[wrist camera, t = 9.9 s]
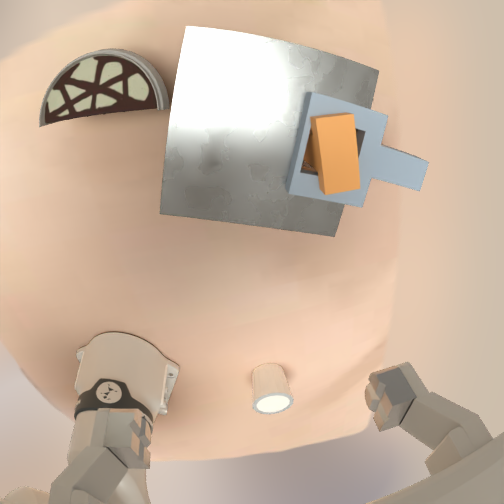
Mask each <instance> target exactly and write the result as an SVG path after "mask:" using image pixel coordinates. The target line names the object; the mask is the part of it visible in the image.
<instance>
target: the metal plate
mask: <svg viewBox="0 0 504 504" xmlns="http://www.w3.org/2000/svg"><path fill="white" fill-rule="evenodd" d="M378 74H379V70H376V69H373V68H371V67H368V66H365V65H363V64H360V63H357V62H354V61H352V60H349V59H346V58H343V57H340V56H337V55H333V54H330V53H327V52H324V51H320V50H317V49H313V48H310V47H306V46H302V45H298V44H294V43H290V42H286V41H282V40H277V39H273V38H268V37H263V36H258V35H253V34H247V33H241V32H235V31H228V30H221V29H213V28H204V27H193V26H186V31H185V35H184V40H183V45H182V50H181V55H180V60H179V65H178V71H177V76H176V82H175V88H174V94H173V100H172V107H171V114H170V121H169V128H168V135H167V143H166V152H165V161H164V170H163V180H162V192H161V204H160V214H164V215H173V216H181V217H190V218H198V219H206V220H214V221H222V222H230V223H238V224H246V225H253V226H261V227H268V228H276V229H283V230H290V231H297V232H304V233H311V234H318V235H325V236H332V237H335V234H336V230H337V227H338V224H339V221H340V218H341V215H342V211H343V208H344V205H345V204H342V203H337V202H331V201H326V200H321V199H315V198H310V197H304V196H298V195H292V194H288V192H287V191H286V189H285V186H286V182H287V177H288V173H289V169H290V164H291V160H292V156H293V151H294V147H295V143H296V138H297V134H298V129H299V125H300V120H301V116H302V111H303V107H304V103H305V98H306V93H307V92H314V93H318V94H322V95H325V96H329V97H332V98H336V99H339V100H343V101H346V102H349V103H352V104H355V105H359V106H362V107H365V108H368V109H371V105H372V101H373V96H374V92H375V88H376V83H377V78H378ZM355 130H356V135H357V131H358V129H356V128H355ZM303 161H304V159H303ZM302 165H303V162H302ZM301 169H304V170H309V171H314V172H317V171H316V170H315V169H314V168H310V167H305V166H301Z"/></svg>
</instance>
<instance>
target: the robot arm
mask: <svg viewBox="0 0 504 504" xmlns="http://www.w3.org/2000/svg"><path fill="white" fill-rule="evenodd" d="M76 357H77V359H78V361H79V362H80V366H79V370H78V374H77V378H76V382H75V390H76V391H77V393H78V395H79V399H78V402H77V404H76V407H75V415H74V417H75V420H76V421H75V425H74V429H73V433H72V437H71V441H70V445H69V450H68V454H67V459H68V466H67V467H66V469H65V470H64V471H63V472H62V473H61V474H60V475H59V476H58V477H57V478H56V479H55V480H54V482H53V483H52V484H51V490H50V493H48V492H44V491H41V490H37V489H34V488H30V487H27V486H23V487H19V488H17V489H15V490H13V491H11V492H10V493H9V494H7V496H6V497H5V498H4V499H2V498H0V504H151V502H150V499H149V496H148V491H147V485H146V469H150V452H149V451H148V450H147V447H148V446H149V445H150V444H151V434H152V431H153V423H154V422H155V419H156V417H157V414H158V413H159V414H161V415H166V414H167V409H168V404H167V403H168V400H169V398H170V395H171V392H172V389H173V387H174V384H175V381H176V379H177V376H178V373H179V369H180V368H179V366H178V365H177V364H176V363H174V362H172V361H170V360H168V359H166V358H165V357H164V356H163V355H162V354H161V353H160V352H159V351H158V350H157V349H156V348H155V347H154V346H153V345H151V344H150V343H148V342H146V341H145V340H143V339H140V338H138V337H136V336H133V335H129V334H125V333H117V332H111V333H104V334H100V335H98V336H96V337H94V338H93V339H92V340H91V341H90V343H89V344H88V345H87V346H85V347H82V348H79V349H78V350H77V353H76ZM369 381H370V383H369V384H368V385H367V386H366V389H365V400H366V403H367V406H368V408H369V409H370V410H371V411H373V412H375V414H374V417H373V419H374V421H375V423H376V425H377V427H378V429H379V431H380V432H381V431H384V430H387V429H390V428H393V427H396V426H399V425H400V427H401V428H402V429H404V430H405V431H406V432H408V433H410V434H411V435H413V436H414V437H415V438H416V439H418V440H419V441H421V442H422V443H424V444H425V445H427V446H428V447H429V448H431V449H432V450H434V451H433V452H432V453H431V454H430V455H429V457H427V459H426V461H425V464H426V466H427V468H428V470H429V472H430V474H431V476H430V477H428V478H426V479H424V480H422V481H420V482H418V483H415V484H413V485H411V486H409V487H407V488H404V489H402V490H400V491H398V492H395V493H392V494H390V495H387V496H385V497H382V498H380V499H377V500H374V501H371V502H369V503H366V504H504V432H503V433H501V434H500V435H499V436H497V437H496V438H494V439H493V438H492V436H491V435H490V433H489V432H488V430H487V428H486V427H485V425H484V423H483V422H482V420H481V419H480V417H479V415H477V414H475V413H473V412H471V411H469V410H467V409H465V408H463V407H461V406H459V405H457V404H455V403H453V402H451V401H449V400H447V399H446V398H443V397H442V396H440V395H438V394H436V393H433V392H430V393H429V392H428V390H427V389H426V387H425V385H424V384H423V382H422V381H421V379H420V378H419V376H418V375H417V373H416V372H415V370H414V368H413V367H412V365H411V364H410V363H409V362H405V363H402V364H399V365H396V366H392V367H389V368H386V369H383V370H379V371H376V372H373V373H371V374H370V376H369Z"/></svg>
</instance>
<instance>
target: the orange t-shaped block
mask: <svg viewBox="0 0 504 504" xmlns="http://www.w3.org/2000/svg"><path fill="white" fill-rule="evenodd" d="M310 121H311V128H310V133H309V137H308V141H307V145H306V150H305V154H304V158H303V159H304V160H305V161H306V162H307V163H308V164H309V165H311V166H312V167H313V168H314V169H315V170H316V171H317V172H318V179H319V187H320V190H321V191H322V192H323V193H324V194H325V195H329V194H335V193H340V192H345V191H351V190H356V189H360V174H359V161H358V149H357V139H356V130H355V121H354V114H351V113H347V112H345V113H336V114H328V115H320V116H312V117H310Z"/></svg>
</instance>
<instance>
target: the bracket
mask: <svg viewBox="0 0 504 504" xmlns="http://www.w3.org/2000/svg"><path fill="white" fill-rule="evenodd" d="M345 112H347V113H351V114H354V121H355V128H356V129H358V131H357V135H356V139H357V149H358V161H359V174H360V189H356V190H351V191H345V192H340V193H335V194H329V195H325V194H324V193H323V192H322V191H321V190H320V187H319V179H318V172H314V171H309V170H304V169H301V166H302V162H303V158H304V154H305V150H306V145H307V141H308V137H309V133H310V128H311V121H310V117H312V116H320V115H328V114H336V113H345ZM387 119H388V116H387V115H385V114H382V113H379V112H376V111H373V110H371V109H368V108H365V107H362V106H359V105H355V104H352V103H349V102H346V101H343V100H339V99H336V98H332V97H329V96H325V95H322V94H318V93H314V92H307V93H306V98H305V103H304V107H303V111H302V116H301V120H300V125H299V129H298V134H297V138H296V143H295V147H294V151H293V156H292V160H291V164H290V169H289V173H288V177H287V182H286V186H285V189H286V191H287V192H288V194H292V195H298V196H304V197H310V198H315V199H321V200H326V201H331V202H337V203H342V204H347V205H352V206H357V207H363V203H364V200H365V197H366V194H367V191H368V187H369V184H370V181H371V178H374V179H378V180H382V181H385V182H389V183H393V184H396V185H400V186H403V187H407V188H411V189H414V190H417V191H420V189H421V186H422V183H423V180H424V176H425V173H426V170H427V167H428V163H429V162H427V161H425V160H423V159H421V158H419V157H417V156H414V155H411V154H409V153H406V152H403V151H400V150H397V149H394V148H391V147H388V146H385V145H382V144H381V142H382V138H383V134H384V131H385V127H386V123H387Z"/></svg>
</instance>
